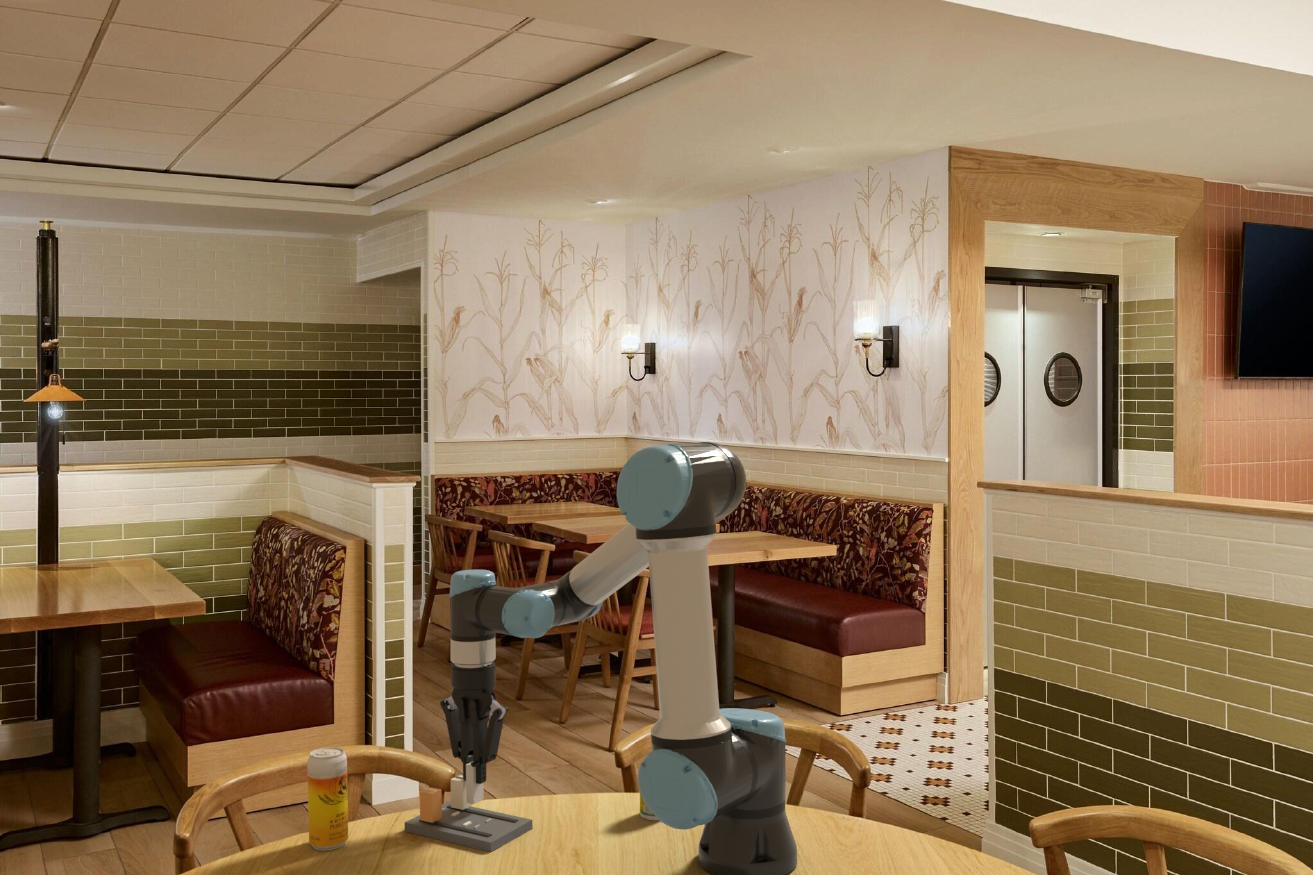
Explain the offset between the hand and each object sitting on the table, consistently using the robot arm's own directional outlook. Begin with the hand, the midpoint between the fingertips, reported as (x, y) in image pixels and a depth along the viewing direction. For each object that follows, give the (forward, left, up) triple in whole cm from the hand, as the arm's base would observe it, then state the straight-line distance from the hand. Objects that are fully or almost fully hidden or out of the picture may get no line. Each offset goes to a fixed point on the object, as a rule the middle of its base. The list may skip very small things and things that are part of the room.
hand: (475, 800), depth 191 cm
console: (-1, +4, -4) cm, 5 cm away
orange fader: (+4, +7, -1) cm, 8 cm away
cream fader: (+3, 0, -1) cm, 3 cm away
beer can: (+15, +19, -4) cm, 24 cm away
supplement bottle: (-25, -17, -4) cm, 31 cm away
